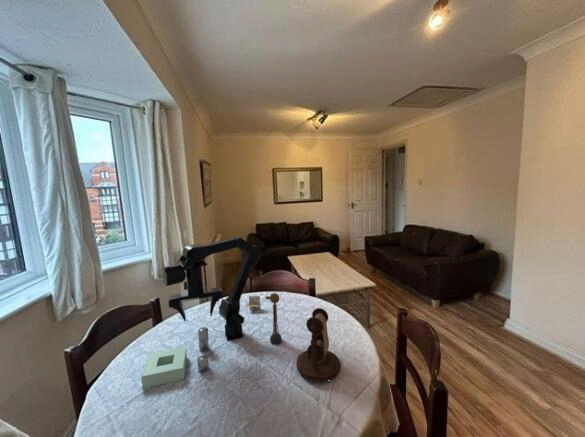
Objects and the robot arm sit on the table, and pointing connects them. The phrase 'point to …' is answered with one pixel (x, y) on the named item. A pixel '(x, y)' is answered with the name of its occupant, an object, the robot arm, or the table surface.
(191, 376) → the table surface
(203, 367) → the short pin
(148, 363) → the hole block
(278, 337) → the dark grey slender stand
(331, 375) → the dark brown tall piece
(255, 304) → the architectural model
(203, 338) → the long pin
